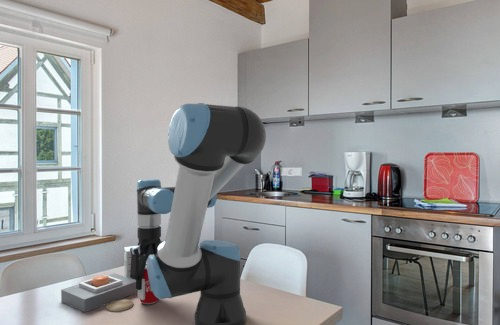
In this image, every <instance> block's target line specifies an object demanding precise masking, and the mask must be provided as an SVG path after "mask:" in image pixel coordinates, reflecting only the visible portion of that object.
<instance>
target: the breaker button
mask: <svg viewBox="0 0 500 325" xmlns="http://www.w3.org/2000/svg"><path fill="white" fill-rule="evenodd" d="M105 275H106V274H104V275H97V276H95V277H93V278H92V279H93V286H94V287H96V288H97V287H100V286H103V285H107V284H109V277H108V275H107V276H105Z"/></svg>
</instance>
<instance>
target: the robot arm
mask: <svg viewBox="0 0 500 325" xmlns="http://www.w3.org/2000/svg"><path fill="white" fill-rule="evenodd" d="M170 120H171V121H170V123H169V127H168V131H167V132H168V139H167V140H168V142H167V143H168V148H169V151H170V153H171V154H172V155H173V156H174V157H173V158H174V160H175V162H176V163H177V164H178V170H177V171H178V172H177V176H176V181H175V186H168V187H162V184H161V180H159V179H156V178H146V179H139V180H138V181H137V184H136V185H137V186H136V196H137V198H136V200H137V202H136V204H137V205H136V206H137V207H136V208H137V210H136V211H137V216H136V217H137V219H136V221H137V226H138V227H137V239H138V243H137V245H135V246H136V247H135V248H130V252H131V271H130V278H132V279H135V280H136V289H137V290H138V292H137V299H139V300H140V299H141V300H145V279H143V275H144V271H145V267H146V264H147V271H148V277H149V282H150V286H151V289H152V291H153V293H154V295H155V296H156V297H157V298H158V299H159V300H163V299H164V300H165V299H173V298H176V297H180V296H186V295H189V294H193V293H197V292H200V295H199V298H198V302H197V305H196V310H195V312H194V325H245V324H246V322H247V311H246V308H245V307H244V302H243V299H242V296H241V261H242V259H241V252H240V247H239V245H237V244H236V243H233V242H230V241H226V240H225V241H224V240H218V239H206V240H201V235H202V231H203V227H204V224H205V223H204V222H205V219H206V218H205V217H206V213H207V211H208V210H207V209H208V208H213V207H214V206H216V202H217V199H218V198H217V197H218V195H217V194H218V193H219V192H220V190H222V188H224V186H225V185H226V184H228V182H230V180H231V179H232V178H233V177H234V176H235V175H236V174H237V173H238V172H239V171H240V170H241V168H243V167H244V166H245V165H249V164H251V163H253V162H254V161H255V160H256V159H257V158H258V157H259V155H261V153H262V151H263V150H264V147H265V145H266V139H267V132H266V127H265V124H264V122H263V120H262V119H261V117H260V116H259V115H258V114H257V113H256V112H254V111H253V110H251V109H249V108H247V107H243V106H231V105H216V104H208V103H207V104H206V103H204V102H197V103H184V104H183V105H181V106H179V107H178V108H177V109H176V110H175V112H174V113H173V115H172V118H171V119H170ZM167 214H169V217H168V218H169V219H168V224H167V229H166V235H165V239H164V240H162V239H161V237H162V227H161V224H162V215H167ZM200 240H201V242H200ZM139 250H140V251H139ZM139 253H140V254H139ZM143 254H144V255H143ZM139 257H140V258H139Z"/></svg>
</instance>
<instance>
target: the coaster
mask: <svg viewBox="0 0 500 325" xmlns="http://www.w3.org/2000/svg"><path fill="white" fill-rule="evenodd" d="M133 304H134V303H133V300H130V299H123V298H121V299H119V300H115V301H112V302H110V303H108V304H106V305H105V307H106V308H105V309H106V310H107V312H114V313H115V312H123V311H126V310H129V309H131V308H132V307H133Z"/></svg>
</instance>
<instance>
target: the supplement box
mask: <svg viewBox="0 0 500 325" xmlns="http://www.w3.org/2000/svg"><path fill="white" fill-rule="evenodd" d="M136 246H137V245H132V246H131V245H130V246H124V247H123V248H124V249H123V250H124V253H123V255H124V256H123V258H124V259H123V261H124V262H123V263H124V264H123V265H124V266H123V267H124V268H123V269H124V270H123V271H124V272H123V273H124V275H123V276H124V277H127V278H130V271H131V252H130V248H135V247H136ZM139 251H140V250H139ZM139 254H140V253H139ZM143 255H144V254H143ZM139 258H140V257H139ZM131 279H132V278H131ZM134 280H135V279H134Z"/></svg>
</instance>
